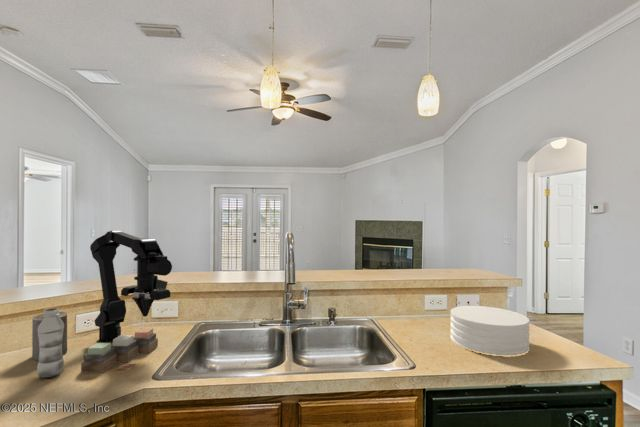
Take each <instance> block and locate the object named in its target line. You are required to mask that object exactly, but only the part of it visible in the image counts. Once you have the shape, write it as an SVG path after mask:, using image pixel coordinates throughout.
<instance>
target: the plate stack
mask: <svg viewBox="0 0 640 427" xmlns="http://www.w3.org/2000/svg"><path fill="white" fill-rule="evenodd" d="M530 321H531V320H530V319H529V317H527V316H526V315H524V314H522V313H520V312H516V311H513V310H509V309H505V308H499V307H493V306H484V305H462V306H455V307H452V308H451V309H450V329H449V330H450V336H449V337H450V338H451V340H452V341H453V342H455V343H456V344H458V345H460V346H462V347H465V348H468V349H471V350H475V351H479V352H483V353H489V354H496V355H517V354H522V353H525V352H527V351H528V350H529V351H530ZM450 338H449V339H450ZM451 340H450V341H451ZM452 341H451V342H452Z"/></svg>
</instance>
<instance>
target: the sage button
mask: <svg viewBox="0 0 640 427" xmlns="http://www.w3.org/2000/svg"><path fill="white" fill-rule="evenodd" d="M111 345H112V342H96V343H94V344H92V345H91V346H90V347H88V348H87V353H88V355H103V354H105V353H107V352H108V351H110V350H111Z"/></svg>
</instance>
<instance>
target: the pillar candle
mask: <svg viewBox="0 0 640 427" xmlns="http://www.w3.org/2000/svg"><path fill="white" fill-rule="evenodd" d="M43 315H44V313H41V314H38V315H34V316H33V317H32V322H31V323H32V327H31V328H32V330H31V331H32V334H31V337H32V339H31V340H32V342H31V344H32V348H31V349H32V353H31V355H32V359H33V360H34V361H39V353H40V346H39V337H38V331H37V329H38V326H39V325H40V323H41V322H42V321H43V320H44V318H45V317H43ZM58 317H59V318H60V319H61V320H62V321H63V323H64V331H63V337H62V355H65V354H67V352H68V313H67V312H65V311H59V315H58Z"/></svg>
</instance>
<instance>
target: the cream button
mask: <svg viewBox="0 0 640 427" xmlns="http://www.w3.org/2000/svg"><path fill="white" fill-rule="evenodd" d="M133 337H134V335H133V334H131V335H130V334H129V335H127V334H125V335H124V334H121V335H120V336H118V337H117V338H115V339H113V342H112V344H113V346H128V345H129V344H131V343H132V342H133Z"/></svg>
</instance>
